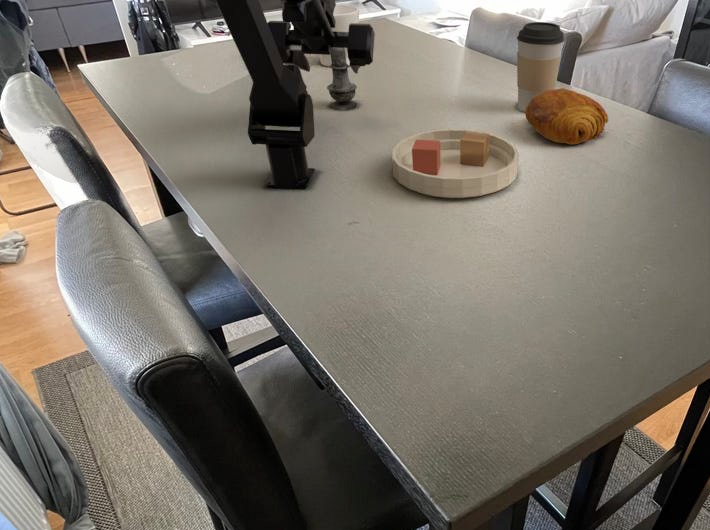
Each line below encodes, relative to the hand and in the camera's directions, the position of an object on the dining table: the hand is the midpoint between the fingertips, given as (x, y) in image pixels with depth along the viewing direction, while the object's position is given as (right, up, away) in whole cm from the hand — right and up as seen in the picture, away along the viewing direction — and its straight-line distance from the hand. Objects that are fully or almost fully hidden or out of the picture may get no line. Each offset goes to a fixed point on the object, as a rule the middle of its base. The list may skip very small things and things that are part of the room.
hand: (332, 70), depth 110 cm
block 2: (+27, -22, -12) cm, 37 cm away
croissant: (+44, -12, 0) cm, 46 cm away
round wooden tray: (+23, -25, -15) cm, 37 cm away
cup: (-6, +19, +32) cm, 38 cm away
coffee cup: (+39, -3, +9) cm, 41 cm away
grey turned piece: (0, -3, +9) cm, 9 cm away
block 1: (+19, -24, -15) cm, 34 cm away
